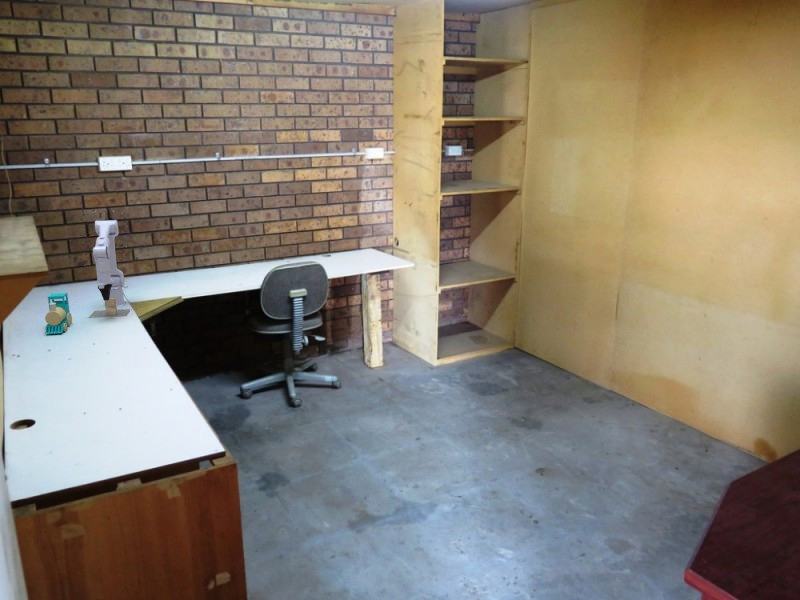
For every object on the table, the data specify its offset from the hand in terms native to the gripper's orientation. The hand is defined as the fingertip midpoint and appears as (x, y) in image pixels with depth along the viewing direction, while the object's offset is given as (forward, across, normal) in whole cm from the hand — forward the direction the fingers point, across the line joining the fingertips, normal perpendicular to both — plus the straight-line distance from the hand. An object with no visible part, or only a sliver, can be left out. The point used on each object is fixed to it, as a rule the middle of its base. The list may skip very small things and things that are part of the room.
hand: (106, 300), depth 289 cm
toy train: (+10, -13, +18) cm, 24 cm away
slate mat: (+9, +9, +1) cm, 13 cm away
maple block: (+9, +7, 0) cm, 11 cm away
